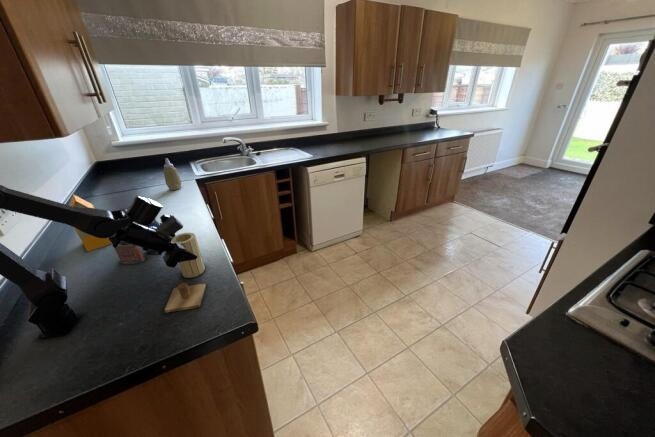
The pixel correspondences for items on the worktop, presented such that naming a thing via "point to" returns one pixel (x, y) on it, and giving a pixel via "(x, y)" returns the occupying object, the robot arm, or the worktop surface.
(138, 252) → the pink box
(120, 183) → the worktop surface
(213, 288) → the worktop surface
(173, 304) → the stand
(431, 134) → the worktop surface
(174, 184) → the squeeze bottle
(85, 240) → the orange juice
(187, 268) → the cream hollow cylinder
